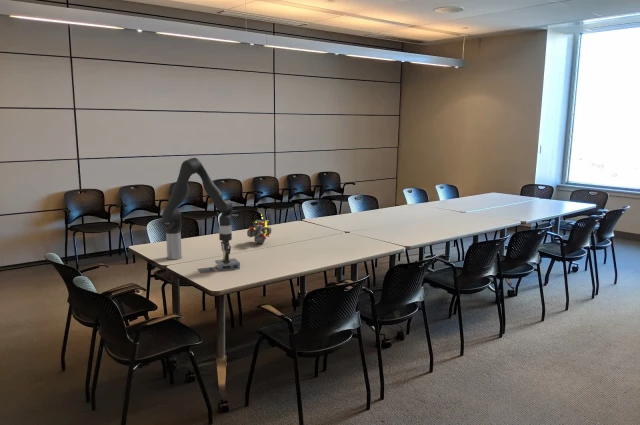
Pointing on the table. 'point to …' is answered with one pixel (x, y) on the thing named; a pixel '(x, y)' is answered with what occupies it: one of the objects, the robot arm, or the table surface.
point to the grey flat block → (227, 264)
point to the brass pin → (224, 257)
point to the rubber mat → (206, 270)
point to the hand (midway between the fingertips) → (226, 259)
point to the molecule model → (256, 231)
